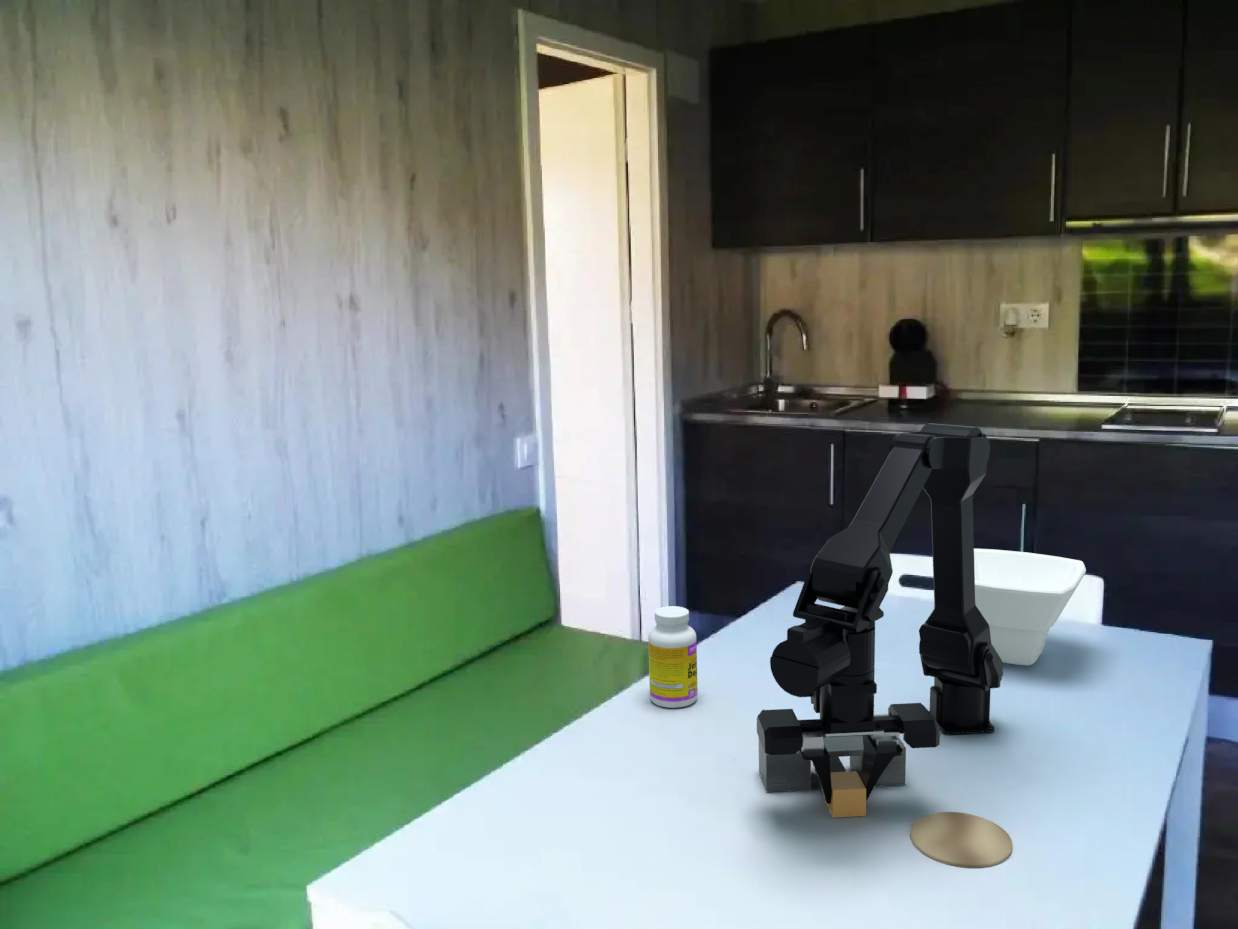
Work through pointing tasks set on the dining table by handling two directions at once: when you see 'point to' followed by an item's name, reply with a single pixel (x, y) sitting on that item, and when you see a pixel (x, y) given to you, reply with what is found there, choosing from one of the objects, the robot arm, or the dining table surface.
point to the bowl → (1022, 598)
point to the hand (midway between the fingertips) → (845, 801)
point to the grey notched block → (796, 772)
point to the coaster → (961, 839)
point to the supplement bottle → (672, 659)
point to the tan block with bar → (846, 792)
